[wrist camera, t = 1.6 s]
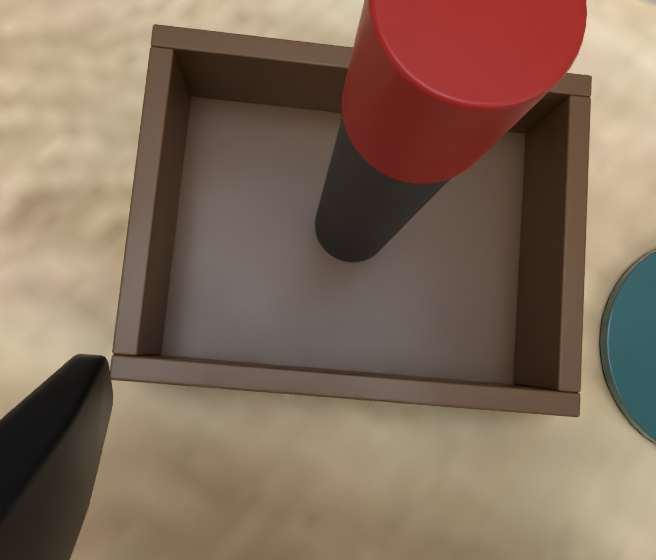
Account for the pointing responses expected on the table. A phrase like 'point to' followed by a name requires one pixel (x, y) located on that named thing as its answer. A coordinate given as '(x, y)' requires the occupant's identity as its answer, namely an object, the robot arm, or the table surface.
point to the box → (333, 274)
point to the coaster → (633, 344)
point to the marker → (433, 104)
